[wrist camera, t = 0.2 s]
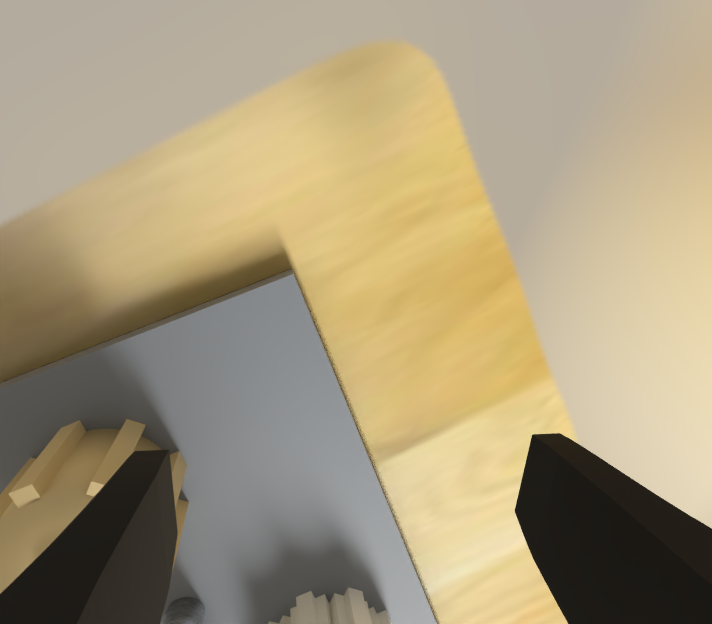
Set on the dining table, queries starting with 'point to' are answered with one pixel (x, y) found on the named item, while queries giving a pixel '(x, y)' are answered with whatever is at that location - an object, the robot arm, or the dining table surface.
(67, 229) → the dining table surface
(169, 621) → the steel peg
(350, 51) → the dining table surface
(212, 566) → the gear board
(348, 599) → the gear
